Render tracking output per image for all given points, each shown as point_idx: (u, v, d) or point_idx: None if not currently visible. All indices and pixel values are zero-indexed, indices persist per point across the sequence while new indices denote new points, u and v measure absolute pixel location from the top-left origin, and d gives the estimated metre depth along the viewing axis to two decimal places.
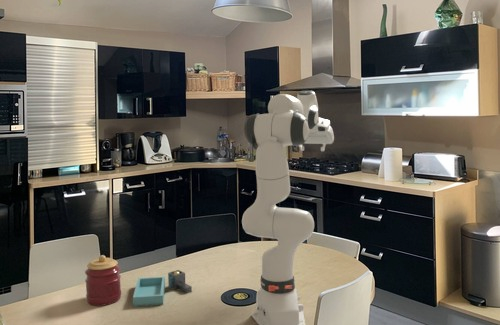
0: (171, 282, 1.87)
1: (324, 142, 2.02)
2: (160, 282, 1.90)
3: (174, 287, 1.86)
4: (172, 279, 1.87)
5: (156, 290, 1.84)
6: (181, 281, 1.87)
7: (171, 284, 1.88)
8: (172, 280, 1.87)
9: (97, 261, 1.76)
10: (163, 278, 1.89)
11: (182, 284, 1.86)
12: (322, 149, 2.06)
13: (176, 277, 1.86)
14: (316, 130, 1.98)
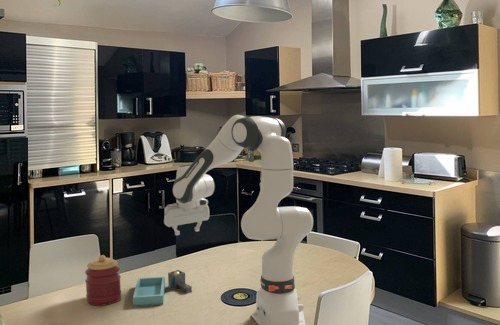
0: (171, 282, 1.87)
1: (202, 219, 1.96)
2: (160, 282, 1.90)
3: (174, 287, 1.86)
4: (172, 279, 1.87)
5: (156, 290, 1.84)
6: (181, 281, 1.87)
7: (171, 284, 1.88)
8: (172, 280, 1.87)
9: (97, 261, 1.76)
10: (163, 278, 1.89)
11: (182, 284, 1.86)
12: (198, 228, 1.97)
13: (176, 277, 1.86)
14: (198, 204, 1.92)
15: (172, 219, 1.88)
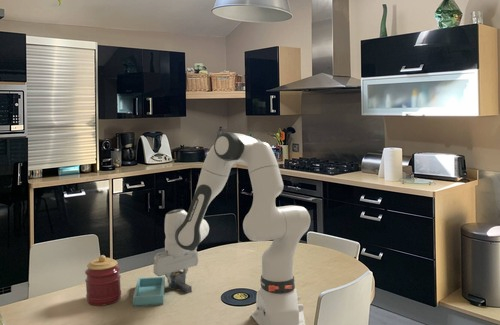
0: None
1: (191, 265, 1.91)
2: (160, 282, 1.90)
3: (174, 287, 1.86)
4: None
5: (156, 290, 1.84)
6: (181, 281, 1.87)
7: (171, 284, 1.88)
8: None
9: (97, 261, 1.76)
10: (163, 278, 1.89)
11: (182, 284, 1.86)
12: None
13: (176, 277, 1.86)
14: (188, 250, 1.87)
15: (162, 268, 1.81)
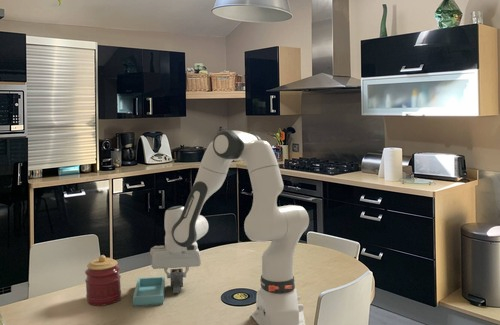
0: None
1: (191, 264, 1.87)
2: (160, 282, 1.90)
3: None
4: None
5: (156, 290, 1.84)
6: (178, 280, 1.86)
7: None
8: None
9: (97, 261, 1.76)
10: (163, 278, 1.89)
11: (176, 283, 1.84)
12: (184, 274, 1.88)
13: (172, 275, 1.85)
14: (185, 249, 1.84)
15: (157, 261, 1.85)
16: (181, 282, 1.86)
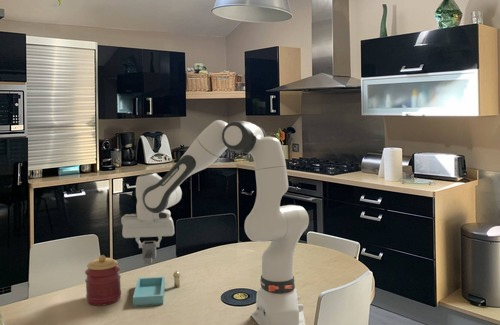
0: None
1: (164, 234, 1.80)
2: (160, 282, 1.90)
3: None
4: None
5: (156, 290, 1.84)
6: (150, 252, 1.80)
7: None
8: None
9: (97, 261, 1.76)
10: (163, 278, 1.89)
11: (148, 254, 1.78)
12: (157, 244, 1.81)
13: (144, 246, 1.79)
14: (157, 217, 1.77)
15: (128, 230, 1.78)
16: (153, 254, 1.80)
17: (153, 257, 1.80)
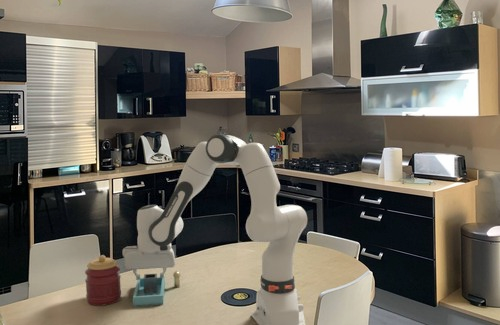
0: None
1: (165, 265, 1.82)
2: (160, 282, 1.90)
3: (144, 290, 1.82)
4: None
5: None
6: (151, 285, 1.81)
7: None
8: None
9: (97, 261, 1.76)
10: (163, 278, 1.89)
11: (149, 289, 1.80)
12: (162, 275, 1.83)
13: (145, 280, 1.81)
14: (158, 249, 1.79)
15: (129, 262, 1.79)
16: (155, 288, 1.82)
17: (154, 291, 1.82)
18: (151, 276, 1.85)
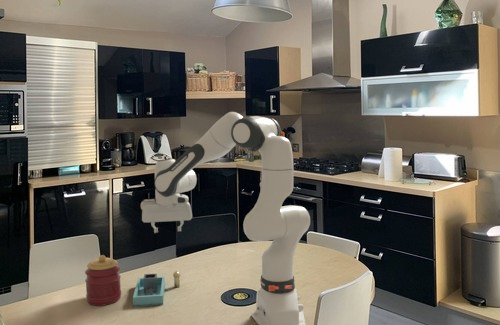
0: None
1: (182, 218, 1.85)
2: (160, 282, 1.90)
3: (144, 290, 1.82)
4: None
5: None
6: (151, 285, 1.81)
7: None
8: None
9: (97, 261, 1.76)
10: (163, 278, 1.89)
11: (149, 289, 1.80)
12: (179, 228, 1.86)
13: (145, 280, 1.81)
14: (175, 201, 1.82)
15: (147, 214, 1.83)
16: (155, 288, 1.82)
17: (154, 291, 1.82)
18: (151, 276, 1.85)
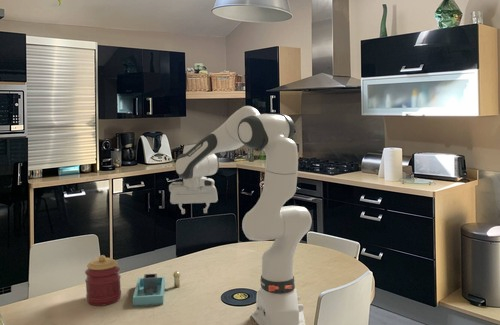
0: None
1: (208, 200, 1.93)
2: (160, 282, 1.90)
3: (144, 290, 1.82)
4: None
5: None
6: (151, 285, 1.81)
7: None
8: None
9: (97, 261, 1.76)
10: (163, 278, 1.89)
11: (149, 289, 1.80)
12: (205, 210, 1.95)
13: (145, 280, 1.81)
14: (202, 184, 1.90)
15: (175, 196, 1.91)
16: (155, 288, 1.82)
17: (154, 291, 1.82)
18: (151, 276, 1.85)
